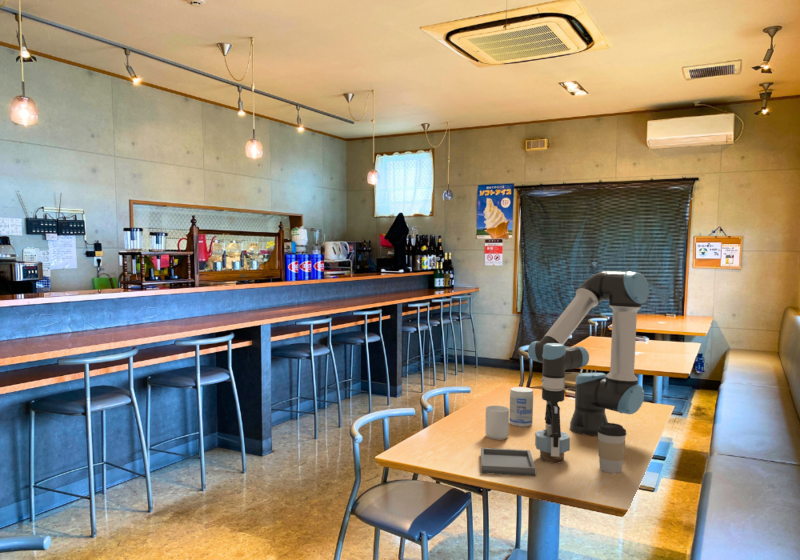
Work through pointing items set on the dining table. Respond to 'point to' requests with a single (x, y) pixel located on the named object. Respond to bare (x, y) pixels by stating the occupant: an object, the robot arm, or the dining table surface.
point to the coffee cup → (611, 447)
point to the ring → (545, 442)
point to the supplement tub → (521, 406)
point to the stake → (547, 456)
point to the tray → (507, 461)
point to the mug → (497, 422)
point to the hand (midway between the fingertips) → (552, 449)
